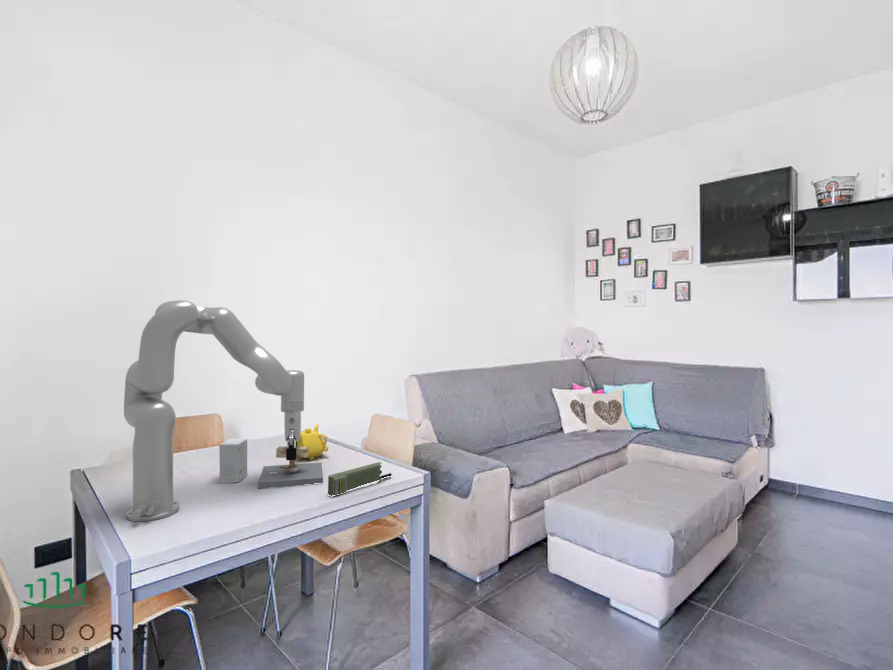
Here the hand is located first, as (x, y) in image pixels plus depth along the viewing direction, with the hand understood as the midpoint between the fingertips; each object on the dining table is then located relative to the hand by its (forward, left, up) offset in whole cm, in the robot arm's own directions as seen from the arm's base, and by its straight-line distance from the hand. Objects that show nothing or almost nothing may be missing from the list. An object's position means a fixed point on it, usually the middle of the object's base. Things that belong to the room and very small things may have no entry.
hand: (291, 456), depth 161 cm
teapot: (+24, -6, -8) cm, 26 cm away
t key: (0, 0, -6) cm, 6 cm away
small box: (+3, +19, -8) cm, 21 cm away
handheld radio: (-15, -22, -8) cm, 28 cm away
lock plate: (0, 0, -8) cm, 8 cm away
